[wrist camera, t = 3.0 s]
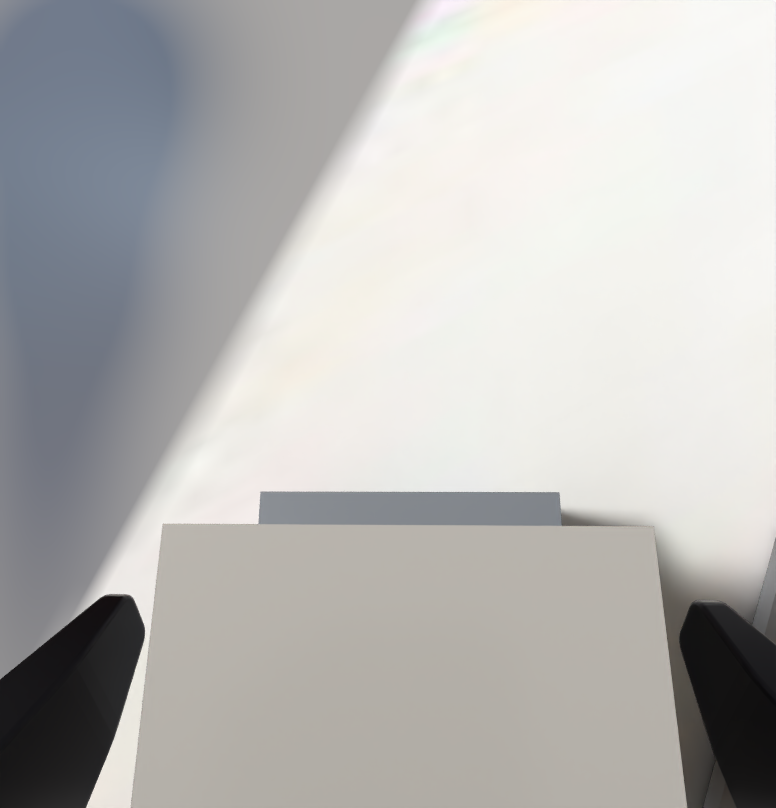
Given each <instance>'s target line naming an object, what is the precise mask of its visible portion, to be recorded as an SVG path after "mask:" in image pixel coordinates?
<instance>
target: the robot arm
mask: <svg viewBox="0 0 776 808" xmlns="http://www.w3.org/2000/svg"><path fill="white" fill-rule="evenodd" d="M144 638H145V627H144V623H143V621H142V618H141V616H140V613H139V611H138V608H137V606H136V603H135V601H134V599H133V597H131V596H130V595H127V594H109V595H105V596H103V597H101V598H100V599H98V600H97V601H96V602H95V603H93V604H92V605H91V606H90V607H88V608H87V609H86V610H85V611H84V612H82V613H81V614H80V615H79V616H77V617H76V618H75V619H74V620H73V621H71V622H70V623H69V624H68V625H66V626H65V627H64V628H63V629H61V630H60V631H59V632H58V633H57V634H55V635H54V636H53V637H52V638H50V639H49V640H48V641H47V642H46V643H44V644H43V645H42V646H41V647H39V648H38V649H37V650H36V651H34V652H33V653H32V654H31V655H30V656H28V657H27V658H26V659H25V660H23V661H22V662H21V663H20V664H19V665H18V666H16V667H15V668H14V669H12V670H11V671H10V672H9V673H8V674H6V675H5V676H4V677H3V678H1V679H0V808H86V806H87V804H88V801H89V799H90V797H91V794H92V792H93V789H94V787H95V784H96V782H97V779H98V777H99V775H100V772H101V770H102V767H103V765H104V762H105V760H106V758H107V755H108V753H109V750H110V747H111V745H112V742H113V740H114V737H115V734H116V731H117V728H118V725H119V722H120V718H121V715H122V712H123V709H124V705H125V702H126V699H127V695H128V692H129V689H130V685H131V682H132V679H133V675H134V672H135V669H136V666H137V662H138V659H139V656H140V652H141V649H142V646H143V642H144ZM679 643H680V648H681V652H682V655H683V658H684V661H685V665H686V668H687V671H688V674H689V678H690V681H691V684H692V687H693V690H694V694H695V697H696V700H697V703H698V707H699V710H700V713H701V716H702V720H703V723H704V726H705V729H706V732H707V736H708V739H709V741H710V744H711V747H712V750H713V753H714V756H715V758H716V761H717V763H718V766H719V768H720V771H721V773H722V775H723V778H724V780H725V783H726V785H727V787H728V790H729V792H730V795H731V797H732V799H733V802H734V804H735V806H736V808H776V644H775V643H774V642H773V641H771V640H770V639H769V638H768V637H767V636H765V635H764V634H763V633H762V632H760V631H759V630H758V629H757V628H755V627H754V626H753V625H752V624H750V623H749V622H748V621H747V620H746V619H744V618H743V617H742V616H741V615H739V614H738V613H737V612H736V611H734V610H733V609H732V608H731V607H729V606H728V605H727V604H725V603H723V602H721V601H712V600H698V601H694V602H693V603H692V604H691V606H690V608H689V611H688V613H687V616H686V618H685V621H684V623H683V626H682V629H681V631H680V636H679Z"/></svg>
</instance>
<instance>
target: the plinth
mask: <svg viewBox="0 0 776 808" xmlns="http://www.w3.org/2000/svg"><path fill="white" fill-rule="evenodd" d="M259 524H299V525H489V526H562V521H561V508H560V495H559V492H261V495H260V509H259Z"/></svg>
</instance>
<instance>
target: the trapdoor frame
mask: <svg viewBox="0 0 776 808" xmlns="http://www.w3.org/2000/svg"><path fill="white" fill-rule="evenodd" d="M752 625H753V626H754V627H755V628H757V629H758V630H759V631H760V632H762V633H763V634H764V635H765V636H767V637H768V638H769V639H770V640H771V641H773V642H774V643H775V644H776V539H775V542H774V546H773V550H772V554H771V557H770V561H769V565H768V568H767V572H766V576H765V580H764V583H763V587H762V591H761V594H760V598H759V602H758V605H757V609H756V613H755V617H754V620H753V624H752ZM703 808H736V806H735V804H734V802H733V799H732V797H731V795H730V792H729V790H728V787H727V785H726V783H725V780H724V778H723V775H722V773H721V771H720V768H719V766H718V763H717V761H715V765H714V768H713V772H712V776H711V780H710V783H709V787H708V791H707V794H706V798H705V802H704V805H703Z"/></svg>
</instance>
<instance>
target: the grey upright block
mask: <svg viewBox="0 0 776 808" xmlns="http://www.w3.org/2000/svg"><path fill="white" fill-rule="evenodd" d="M131 808H687V802H686V793H685V785H684V776H683V768H682V760H681V751H680V743H679V735H678V726H677V718H676V709H675V701H674V693H673V684H672V676H671V667H670V659H669V651H668V642H667V634H666V626H665V617H664V609H663V600H662V592H661V584H660V575H659V567H658V559H657V550H656V542H655V533H654V526H489V525H299V524H163V526H162V535H161V544H160V553H159V562H158V571H157V579H156V588H155V597H154V606H153V615H152V623H151V632H150V641H149V650H148V659H147V668H146V676H145V685H144V694H143V703H142V712H141V721H140V729H139V738H138V747H137V756H136V765H135V774H134V782H133V791H132V800H131Z"/></svg>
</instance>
